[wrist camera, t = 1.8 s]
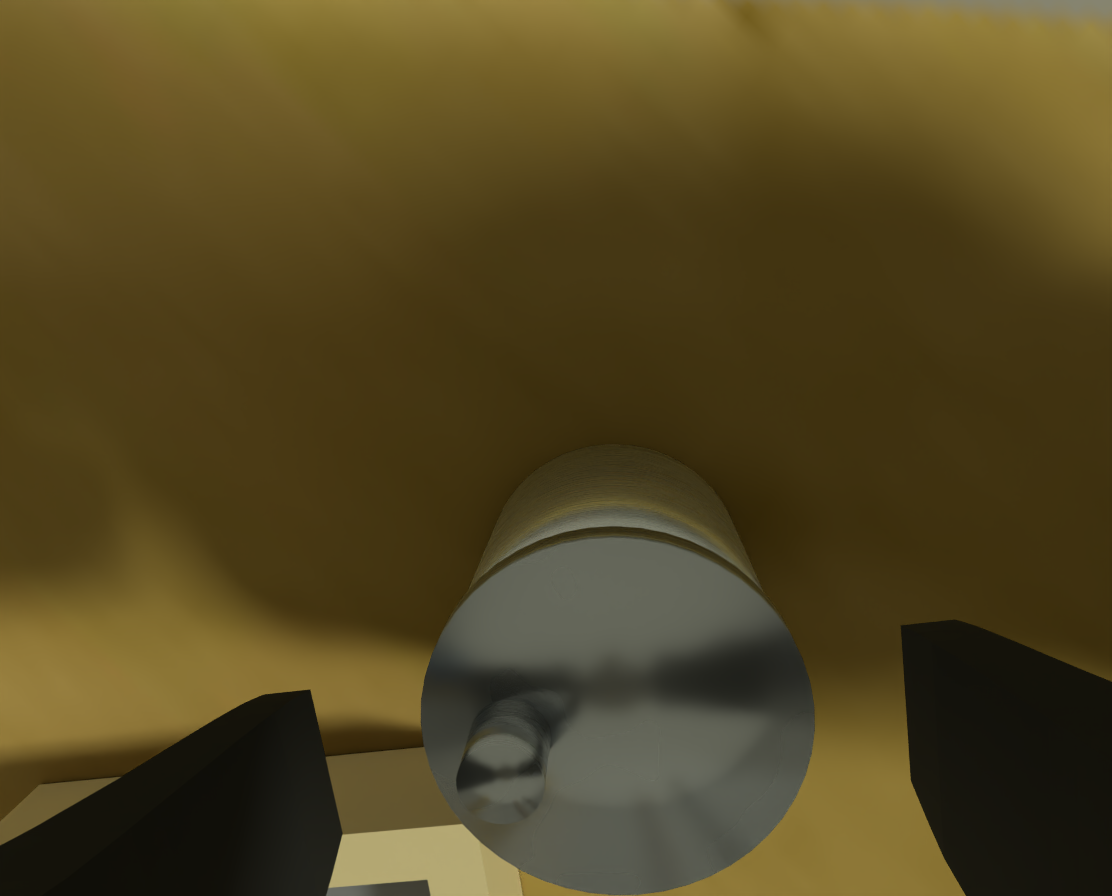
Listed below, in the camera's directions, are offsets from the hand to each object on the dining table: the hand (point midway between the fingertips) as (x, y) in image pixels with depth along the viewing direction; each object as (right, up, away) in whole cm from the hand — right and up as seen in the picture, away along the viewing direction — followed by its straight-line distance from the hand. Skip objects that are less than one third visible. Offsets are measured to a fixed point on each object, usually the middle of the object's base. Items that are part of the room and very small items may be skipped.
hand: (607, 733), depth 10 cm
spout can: (0, +1, +6) cm, 6 cm away
